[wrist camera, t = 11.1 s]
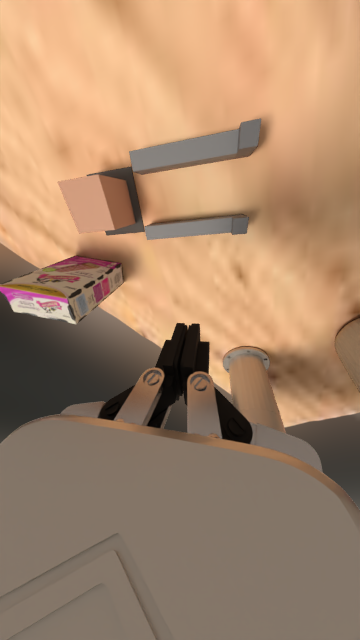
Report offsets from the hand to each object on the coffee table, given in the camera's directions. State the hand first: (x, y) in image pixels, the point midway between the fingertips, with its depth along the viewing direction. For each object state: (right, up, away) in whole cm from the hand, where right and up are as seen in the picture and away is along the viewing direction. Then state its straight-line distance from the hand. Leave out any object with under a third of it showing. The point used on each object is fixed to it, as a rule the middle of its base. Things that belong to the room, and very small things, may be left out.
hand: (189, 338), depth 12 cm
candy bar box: (-19, +13, +25) cm, 34 cm away
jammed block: (-12, +22, +16) cm, 30 cm away
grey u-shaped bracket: (+1, +22, +14) cm, 26 cm away
